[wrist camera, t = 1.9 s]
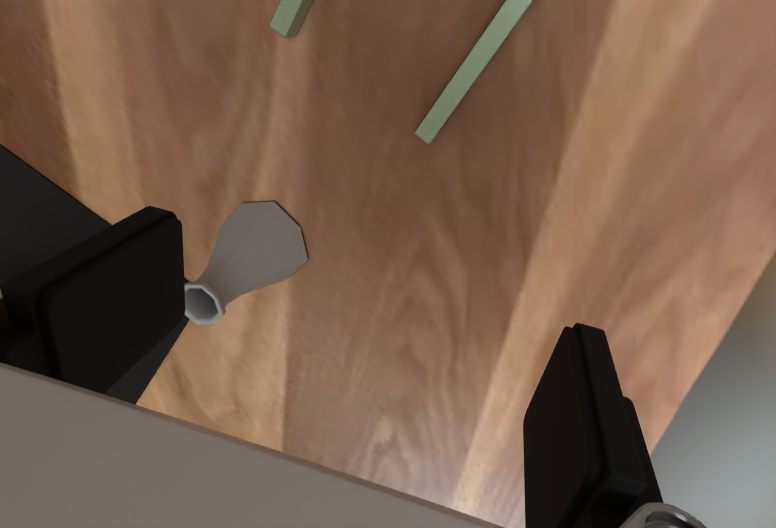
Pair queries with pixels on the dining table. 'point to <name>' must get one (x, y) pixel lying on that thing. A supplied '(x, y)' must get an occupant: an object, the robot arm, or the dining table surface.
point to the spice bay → (516, 3)
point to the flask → (245, 259)
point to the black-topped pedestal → (57, 247)
